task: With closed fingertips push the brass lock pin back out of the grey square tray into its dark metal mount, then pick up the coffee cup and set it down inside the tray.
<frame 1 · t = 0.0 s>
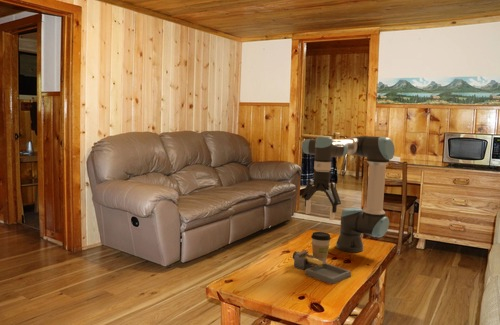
hand: (319, 216, 188), 28 cm above the table, fingers open, 13 cm apart
coffee cup: (319, 263, 208), on the table
pin mount: (303, 267, 200), on the table
grey square tray: (328, 275, 191), on the table
lock pin: (308, 259, 197), point 5 cm above the table, slide at 0.0 cm
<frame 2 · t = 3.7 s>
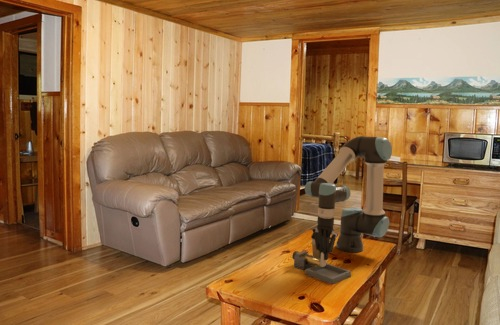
hand: (323, 265, 191), 4 cm above the table, fingers closed
lock pin: (308, 259, 198), point 5 cm above the table, slide at 0.2 cm, touching gripper
everything else where it was.
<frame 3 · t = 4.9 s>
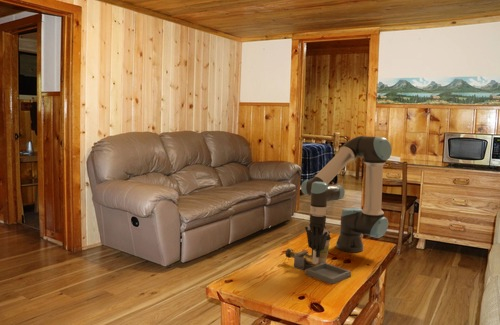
hand: (315, 263, 195), 4 cm above the table, fingers closed
lock pin: (300, 257, 201), point 5 cm above the table, slide at 4.7 cm, touching gripper
everything else where it was.
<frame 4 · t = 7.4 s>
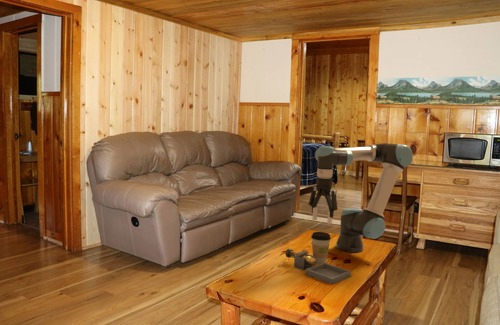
hand: (321, 221, 205), 21 cm above the table, fingers open, 8 cm apart
lock pin: (300, 257, 201), point 5 cm above the table, slide at 4.7 cm
everything else where it was.
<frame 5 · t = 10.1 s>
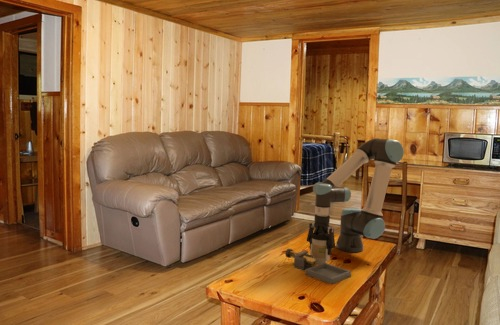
hand: (319, 258, 207), 2 cm above the table, fingers closed on coffee cup, 9 cm apart
coffee cup: (319, 263, 208), on the table, touching gripper
everything else where it was.
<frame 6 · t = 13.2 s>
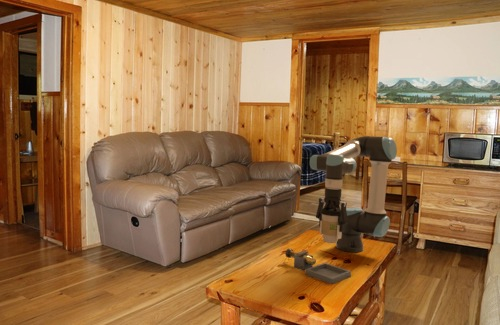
hand: (330, 236, 189), 19 cm above the table, fingers closed on coffee cup, 9 cm apart
coffee cup: (330, 241, 189), point 16 cm above the table, touching gripper
everything else where it was.
when the fingers open (4 cm above the table, at t = 16.3 s): coffee cup stays where it is, resting on grey square tray.
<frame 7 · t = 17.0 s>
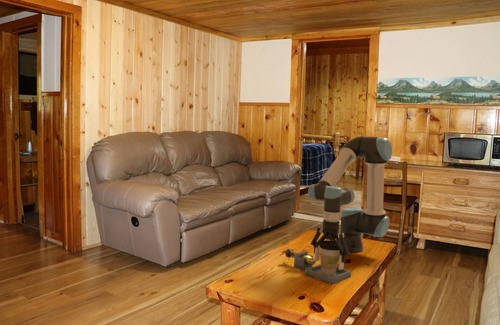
hand: (328, 264, 190), 5 cm above the table, fingers open, 13 cm apart
coffee cup: (328, 274, 191), resting on grey square tray
everything else where it was.
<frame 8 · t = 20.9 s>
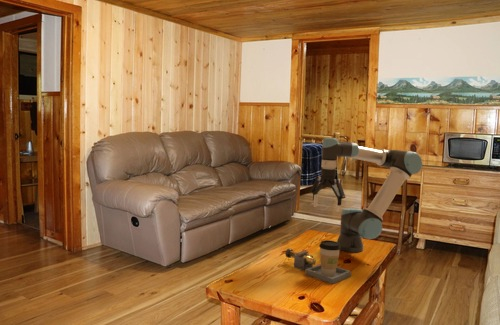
hand: (326, 209, 210), 27 cm above the table, fingers open, 13 cm apart
nothing on the table moved.
at the end: lock pin slide at 4.7 cm; coffee cup inside the target area on the grey square tray (0.1 cm from its centre), point 0.4 cm above the grey square tray's base; coffee cup tilted 0° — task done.
